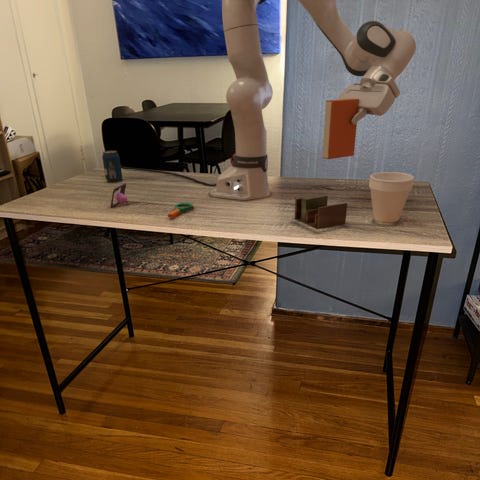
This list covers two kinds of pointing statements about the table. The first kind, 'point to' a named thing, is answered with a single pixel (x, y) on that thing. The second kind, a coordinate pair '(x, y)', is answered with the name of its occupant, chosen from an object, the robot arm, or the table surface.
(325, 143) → the book
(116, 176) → the soda can
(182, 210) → the magnifying glass
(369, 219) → the table surface
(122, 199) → the brown pink framed ornament
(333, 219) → the rack
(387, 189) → the flower pot
